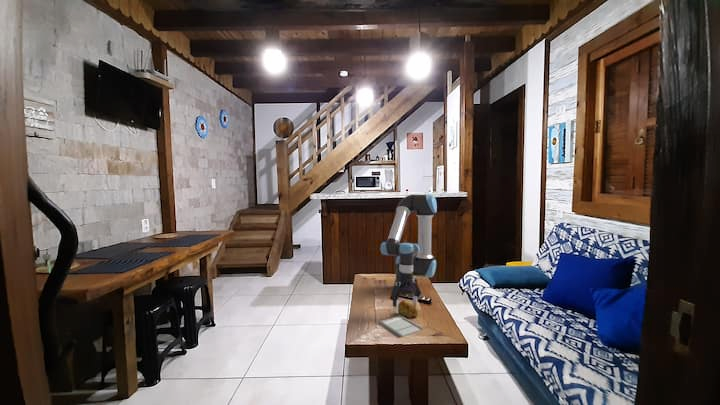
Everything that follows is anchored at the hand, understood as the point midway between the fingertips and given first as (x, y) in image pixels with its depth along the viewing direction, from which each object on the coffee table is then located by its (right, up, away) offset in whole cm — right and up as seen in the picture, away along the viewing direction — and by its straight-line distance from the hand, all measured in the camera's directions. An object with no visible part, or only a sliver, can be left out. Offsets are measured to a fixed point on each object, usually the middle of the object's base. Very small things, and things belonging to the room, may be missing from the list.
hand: (405, 310), depth 168 cm
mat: (-5, -4, -13) cm, 14 cm away
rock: (+1, -3, 0) cm, 3 cm away
